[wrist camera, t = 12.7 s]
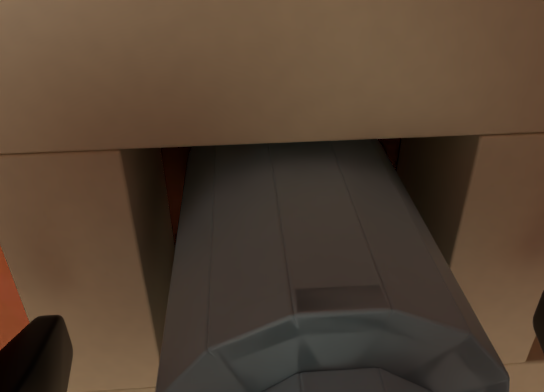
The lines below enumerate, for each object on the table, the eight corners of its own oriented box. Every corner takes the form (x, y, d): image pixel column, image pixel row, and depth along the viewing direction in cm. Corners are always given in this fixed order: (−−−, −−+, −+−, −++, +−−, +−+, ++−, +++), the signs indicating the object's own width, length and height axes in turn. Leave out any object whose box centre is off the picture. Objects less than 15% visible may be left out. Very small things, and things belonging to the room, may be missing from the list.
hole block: (694, 300, 18) (804, 402, 14) (108, 335, 16) (78, 455, 13) (912, -61, 12) (1195, -32, 8) (9, -45, 10) (-95, -2, 7)
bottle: (371, 248, 15) (547, 711, 7) (193, 257, 15) (150, 753, 7) (392, 81, 12) (733, 522, 4) (173, 89, 12) (51, 582, 4)
